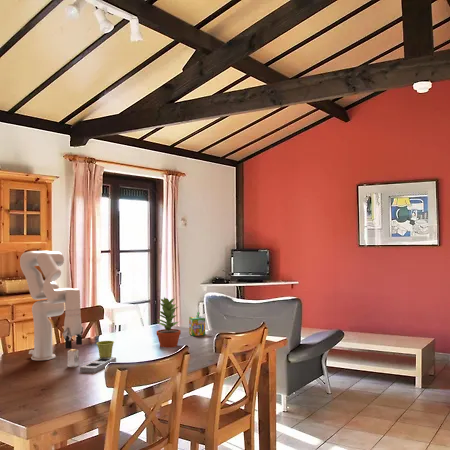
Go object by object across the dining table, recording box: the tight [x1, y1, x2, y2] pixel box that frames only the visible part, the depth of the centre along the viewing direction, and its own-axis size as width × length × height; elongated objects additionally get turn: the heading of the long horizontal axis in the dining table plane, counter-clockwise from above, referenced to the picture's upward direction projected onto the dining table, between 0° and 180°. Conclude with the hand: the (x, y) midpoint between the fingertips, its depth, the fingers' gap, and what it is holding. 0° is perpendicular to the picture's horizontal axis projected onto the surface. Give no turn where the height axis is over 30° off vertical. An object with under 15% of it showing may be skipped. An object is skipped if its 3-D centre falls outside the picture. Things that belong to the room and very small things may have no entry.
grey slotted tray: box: [79, 356, 117, 374], centre depth 264 cm, size 8×22×2 cm, turn 164°
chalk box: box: [188, 311, 206, 337], centre depth 346 cm, size 9×9×15 cm
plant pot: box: [96, 340, 115, 358], centre depth 283 cm, size 9×9×9 cm
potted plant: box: [156, 296, 181, 349], centre depth 313 cm, size 15×15×30 cm
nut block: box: [67, 348, 80, 368], centre depth 267 cm, size 4×4×8 cm
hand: (73, 346), depth 267 cm, fingers open, 9 cm apart
